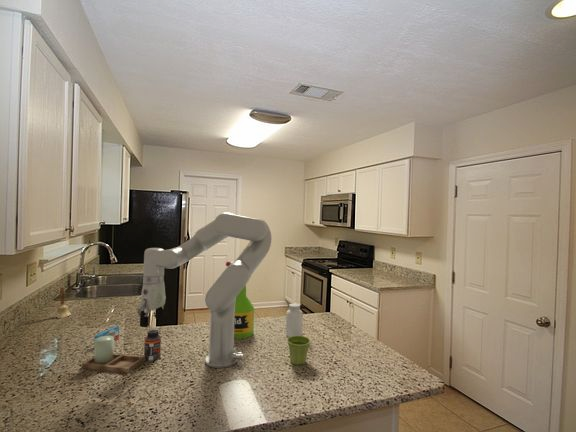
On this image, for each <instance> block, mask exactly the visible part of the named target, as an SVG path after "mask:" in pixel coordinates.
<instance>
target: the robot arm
mask: <svg viewBox="0 0 576 432" xmlns="http://www.w3.org/2000/svg"><path fill="white" fill-rule="evenodd" d="M228 237H229V238H234V239H239V240H246V241H249V242H248V244H247V245H246V246H245V247H244V249H243V250H242V251H241V252H240V254H239V256H238V257H237V258H236V259H235V260H234V261H232V262H233V263H232V264H230V265H229V266H226V268H225V270H223V272H221V274H220V275H219V277H218V278H217V279H216V280H215V282H214V283H213V284H212V285H211V286H210V288H209V289H208V290H207V292H206V294H205V298H204V301H205V303H204V304H205V306H206V307H207V309H208V310H209V311H210V314H209V350H208V352H209V353H208V355H207V356H206V357H205V359H204V363H205V364H206V365H207V366H208V367H210V368H213V369H223V368H229V367H231V366H233V365H235V364H236V363H237V362H238V360H240V361H243V360H244V355H245V354H243V351H237V347H235V338H234V321H235V301H236V297H237V295H238V294H239V293H240V292H241V290H242V289H243V288H244V287H245V285H246V286H247V284H248V282H249V280H250V279H251V277H252V275H253V274H254V272H255V271H256V270H257V268H258V267H259V266H260V264H262V261H263V260H264V259H265V257H266V256H267V254H268V252H269V251H270V249H271V247H272V233H271V229H270V227H269V224H268V223H267V222H266V221H265V220H264V219H262V218H258V217H257V218H256V217H255V218H253V217H249V216H243V215H238V214H234V213H232V212H222V213H220V214H218V215H217V216H216V217H215V219H214V220H212V221H211V222H209V223H207V224H206V225H204V226H203V227H201V228H199V229H198V230H197V231H195V234H194V235H193V236H192V237H191V238H190V239H188V240H186V241H185V242H183V243H182V244H180V245H179V246H177V247H173V248H169V249H164V248H161V247H150V248H149V247H148V248H146V249H145V250H144V254H143V276H142V277H143V278H142V288H141V295H140V303H139V304H138V306H137V308H136V310H137V313H138V315H139V327H141V328H148V327H149V316H148V315H149V314H150V311H154V318H155V319H157V320H158V319H159V320H162V319H164V309H165V304H166V299H167V296H166V286H165V278H164V277H165V269H176V268H177V267H180V266H181V265H182V266H183V265H184V264H186V263H187V262H189V261H190V260H192V259H193V258H195V257H197V256H198V255H200V254H202V253H203V252H206V251H208V250H209V249H211V248H213V247H214V246H215V245H217V244H218V243H220V242H222V241H224V240H225V239H227V238H228Z"/></svg>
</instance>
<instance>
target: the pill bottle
mask: <svg viewBox="0 0 576 432" xmlns="http://www.w3.org/2000/svg"><path fill="white" fill-rule="evenodd" d="M303 313H304V312H303V311H302V310H301V304H299V303H289V304H288V310H287V311H286V318H285V322H286V323H285V334H286V337H287V338H289V337H291V336H303V315H304V314H303Z"/></svg>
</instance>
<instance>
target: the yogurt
mask: <svg viewBox="0 0 576 432" xmlns="http://www.w3.org/2000/svg"><path fill="white" fill-rule="evenodd" d="M102 336H113V337H114V341H118V340H119V338H120V327H119V326H117V325H115V326H114V327H111V328H109V329H108V328H107V329H106V330H104V331H102V332H100V333H97V334H95V335H94V340H95V339H97V338H99V337H102Z"/></svg>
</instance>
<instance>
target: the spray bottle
mask: <svg viewBox="0 0 576 432" xmlns="http://www.w3.org/2000/svg"><path fill="white" fill-rule="evenodd" d="M233 262H234V261H226V262H225V266H226V267H228V266H229V265H230V264H232V263H233ZM254 313H255V307H254V306H253V304H252V302H251V300H250V299H249V298H248V297H247V284H246V285H245V287H244V288H243V289H242V290H241V292H240V293H239V294H238V295H237V297H236V301H235V321H234V339H245V338H249V337H251V336H253V335H254V328H255V327H254V326H255V324H254V321H255V319H254V318H255V316H254V315H255V314H254Z"/></svg>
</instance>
